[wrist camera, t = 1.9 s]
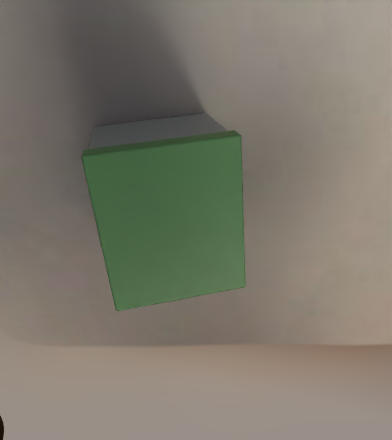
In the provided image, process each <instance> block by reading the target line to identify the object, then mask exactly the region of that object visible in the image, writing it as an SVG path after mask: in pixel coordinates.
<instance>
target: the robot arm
mask: <svg viewBox="0 0 392 440" xmlns="http://www.w3.org/2000/svg"><path fill="white" fill-rule="evenodd" d="M3 435H4V425H3V421H2V418H1V416H0V440H3Z"/></svg>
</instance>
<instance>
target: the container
mask: <svg viewBox="0 0 392 440" xmlns="http://www.w3.org/2000/svg"><path fill="white" fill-rule="evenodd" d="M81 158H82V163H83V167H84V172H85V176H86V180H87V185H88V189H89V194H90V198H91V203H92V207H93V211H94V216H95V220H96V225H97V229H98V234H99V238H100V242H101V247H102V251H103V256H104V260H105V265H106V269H107V273H108V278H109V282H110V287H111V291H112V296H113V300H114V304H115V309H116V311H121V310H126V309H132V308H137V307H142V306H148V305H153V304H158V303H163V302H169V301H174V300H179V299H185V298H190V297H195V296H201V295H206V294H211V293H217V292H222V291H227V290H232V289H238V288H243V287H245V252H244V218H243V185H242V151H241V135H240V134H238V133H237V132H236V131H234V130H232V131H228V130H226V129H225V128H224V127H223V126H221V125H220V124H219V123H218V122H216V121H215V120H214V119H213V118H211V117H210V116H209V115H208V114H206V113H202V114H194V115H186V116H178V117H170V118H161V119H153V120H145V121H137V122H129V123H120V124H112V125H104V126H96V127H94V129H93V132H92V136H91V140H90V144H89V148H88V149H85V150H83V153H82V157H81Z"/></svg>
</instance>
